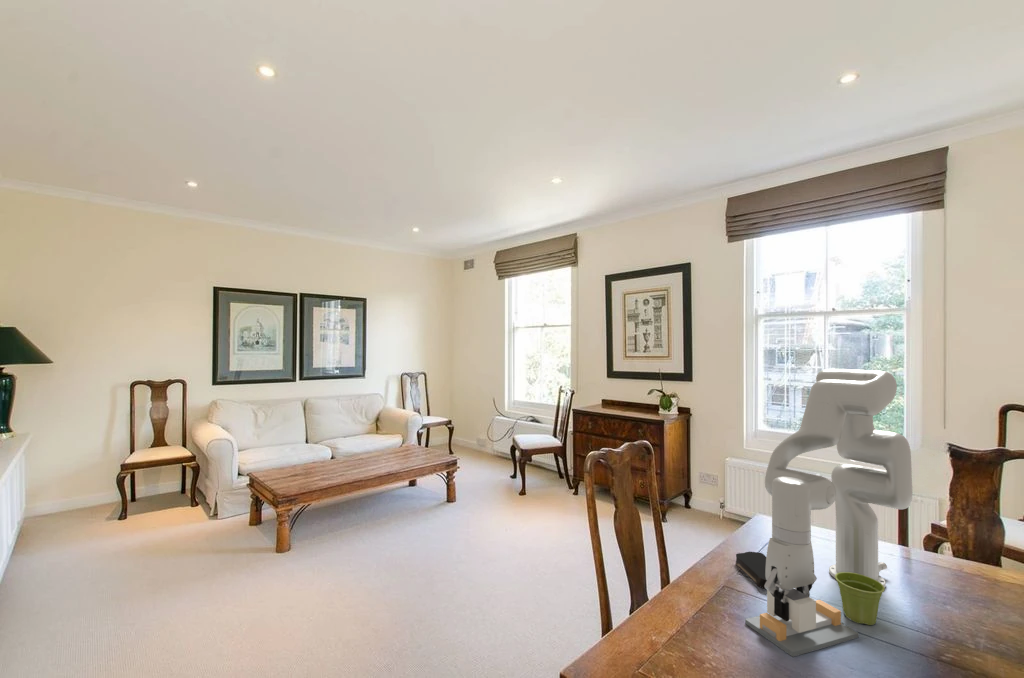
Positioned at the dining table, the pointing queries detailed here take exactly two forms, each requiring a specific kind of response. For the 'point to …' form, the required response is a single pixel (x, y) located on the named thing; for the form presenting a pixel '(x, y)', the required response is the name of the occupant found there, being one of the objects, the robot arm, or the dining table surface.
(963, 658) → the dining table surface
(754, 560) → the black sponge
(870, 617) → the plant pot
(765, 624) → the rail board
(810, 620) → the block
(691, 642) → the dining table surface
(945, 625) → the dining table surface
